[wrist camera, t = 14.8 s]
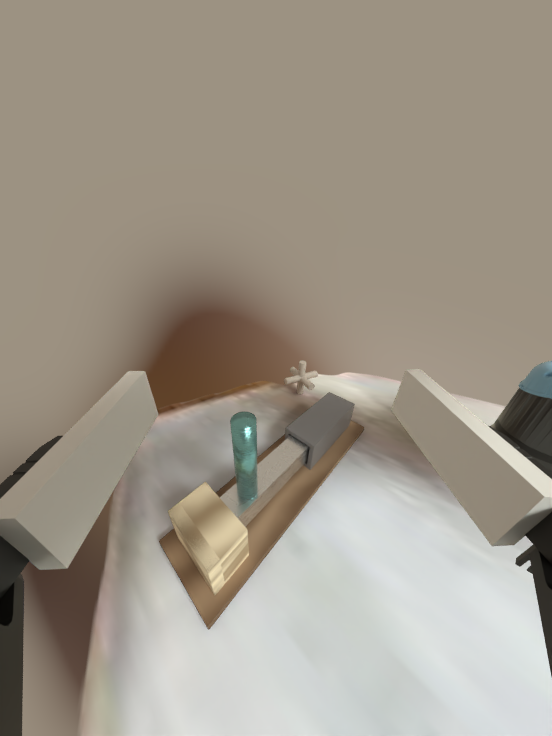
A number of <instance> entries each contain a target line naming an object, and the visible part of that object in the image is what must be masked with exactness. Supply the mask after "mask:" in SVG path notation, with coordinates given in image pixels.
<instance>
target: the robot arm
mask: <svg viewBox="0 0 552 736" xmlns="http://www.w3.org/2000/svg"><path fill="white" fill-rule="evenodd" d="M519 387H520V388H519V389H518V390H517V392H516V393H515V395H514V396H513V397H512V399H511V400H510V402H509V403H508V405H507V406H506V407H505V409H504V410H503V411H502V413H501V414H500V416H499V417H498V419H497V420H496V422H495V423H494V424H493V425H491V426H487V425H486V424H485V423H484V422H483V421H481V420H480V419H479V418H478V417H477V416H475V415H474V414H473V413H472V412H471V411H469V410H468V409H467V408H466V407H465V406H463V405H462V404H461V403H460V402H459V401H457V400H456V399H455V398H454V397H453V396H451V395H450V394H449V393H448V392H447V391H445V390H444V389H443V388H442V387H441V386H440V385H438V384H437V383H436V382H435V381H433V380H432V379H431V378H430V377H429V376H427V375H426V374H425V373H424V372H423V371H422V370H420V369H411V370H410V369H407V370H406V371H405V374H404V376H403V379H402V382H401V385H400V387H399V390H398V393H397V396H396V398H395V401H394V404H393V407H392V409H391V411H392V412H393V414H394V415H395V416H396V418H397V419H398V420H399V422H400V423H401V424H402V426H403V427H404V428H405V430H406V431H407V432H408V434H409V435H410V437H411V438H412V439H413V441H414V442H415V443H416V445H417V446H418V447H419V449H420V450H421V451H422V453H423V454H424V455H425V457H426V458H427V459H428V461H429V462H430V463H431V465H432V466H433V467H434V469H435V470H436V471H437V473H438V474H439V476H440V477H441V478H442V480H443V481H444V482H445V484H446V485H447V486H448V488H449V489H450V490H451V492H452V493H453V494H454V496H455V497H456V498H457V500H458V501H459V502H460V504H461V505H462V506H463V508H464V509H465V510H466V512H467V513H468V515H469V516H470V517H471V519H472V520H473V521H474V523H475V524H476V525H477V527H478V528H479V529H480V531H481V532H482V533H483V535H484V536H485V537H486V539H487V540H488V541H489V543H490V544H491V545H492V546H504V545H515V544H516V543H517V542H518V541H519V540H521V539H522V538H523V537H524V536H525V535H526V536H527V538H528V539H529V540H530V541H531V542H532V543H533V544H534V545H532V546H531V547H530V548H529V549H527V550H526V551H525V552H524V553H522V554H521V555H520V556H518V557H517V558H516V565H518V566H522V565H523V564H524V563H526V562H527V561H528V560H530V561H531V566H530V567H529V568H528V569H527V571H528V572H530V573H532V574H533V578H534V583H535V588H536V594H537V599H538V605H539V610H540V616H541V621H542V627H543V632H544V637H545V643H546V648H547V654H548V659H549V665H550V670H551V676H552V361H548V362H544V363H541V364H539V365H537V366H536V367H534V368H533V369H532V371H531V372H530V373H529V374H528V376H527V377H526V378H525V379H524V380H523V381H521V382H520V384H519ZM157 416H158V411H157V408H156V405H155V402H154V399H153V395H152V392H151V389H150V386H149V382H148V380H147V376H146V373H145V371H128V372H127V373H126V374H125V375H124V376H123V377H122V378H121V379H120V380H119V381H118V382H117V383H116V384H115V385H114V386H113V387H112V388H111V389H110V390H109V391H108V392H107V393H106V394H105V395H104V396H103V397H102V398H101V399H100V400H99V401H98V402H97V403H96V404H95V405H94V406H93V407H92V408H91V409H90V410H89V411H88V412H87V413H86V414H85V415H84V416H83V417H82V418H81V419H80V420H79V421H78V422H77V423H76V424H75V425H74V426H73V427H72V428H71V429H70V430H69V431H68V432H67V433H66V434H65V435H64V436H57V437H55V438H54V439H52V440H51V441H49V442H47V443H46V444H44V445H43V446H41V447H40V448H39V449H38V450H37V451H35V452H34V453H33V454H32V455H31V456H30V457H29V458H28V459H27V460H26V463H25V464H22V465H21V466H20V467H19V468H17V470H15V471H14V472H13V475H10V476H9V477H8V478H7V479H6V480H5V481H4V482H3V483H1V485H0V736H22V690H23V619H24V618H23V617H24V580H23V577H22V575H21V574H20V573H21V572H22V570H23V569H24V567H25V566H26V565H27V563H28V562H29V561H30V562H31V563H32V564H33V565H35V566H36V567H37V568H38V569H39V570H49V569H67V568H68V567H69V565H70V563H71V562H72V560H73V558H74V557H75V555H76V553H77V551H78V550H79V548H80V546H81V545H82V543H83V541H84V540H85V538H86V536H87V535H88V533H89V531H90V529H91V527H92V526H93V524H94V523H95V521H96V519H97V517H98V516H99V514H100V512H101V511H102V509H103V507H104V506H105V504H106V502H107V501H108V499H109V497H110V496H111V494H112V492H113V490H114V489H115V487H116V485H117V484H118V482H119V480H120V479H121V477H122V475H123V474H124V472H125V470H126V468H127V467H128V465H129V463H130V462H131V460H132V458H133V457H134V455H135V453H136V452H137V450H138V448H139V446H140V445H141V443H142V441H143V440H144V438H145V436H146V435H147V433H148V431H149V429H150V428H151V426H152V424H153V423H154V421H155V419H156V418H157Z"/></svg>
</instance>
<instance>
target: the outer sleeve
mask: <svg viewBox="0 0 552 736" xmlns="http://www.w3.org/2000/svg"><path fill="white" fill-rule="evenodd" d="M354 405H355V404H353V403H351V402H349V401H347V400H345V399H343V398H341V397H338V396H336V395H334V394H332V393H330V392H329V393H327V394H326V395H325V396H324V397H323V398H321V399H320V400H319V401H318V402H317V403H315V404H314V405H313V406H312V407H310V408H309V409H308V410H307V411H306V412H304V413H303V414H302V415H301V416H300V417H298V418H297V419H296V420H295V421H293V422H292V423H291V424H290V425H289V426H287V427H286V431H285V440H286V439H287V438H288V437H289V436H291V435H292V436H294V437H295V438H297V439H298V440H300V441H301V442H303V443H304V444H306V445H307V446H309V447H310V449H309V455H308V460H307V461H306V462H305V463H304V464H303V465H304V466H305V467H307V468H308V469H309V470H311V469H312V468H313V466H314V465H315V464H316V463H317V462H318V461H319V460H320V458H321V457H322V456H323V455H324V454H325V453H326V452H327V450H328V449H329V448H330V447H331V446H332V445H333V444H334V442H335V441H336V440H337V439H338V438H339V437H340V436H341V434H342V433H343V432H344V431H345V430H346V429H347V428H348V426H349V424H350V421H351V417H352V413H353V409H354Z"/></svg>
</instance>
